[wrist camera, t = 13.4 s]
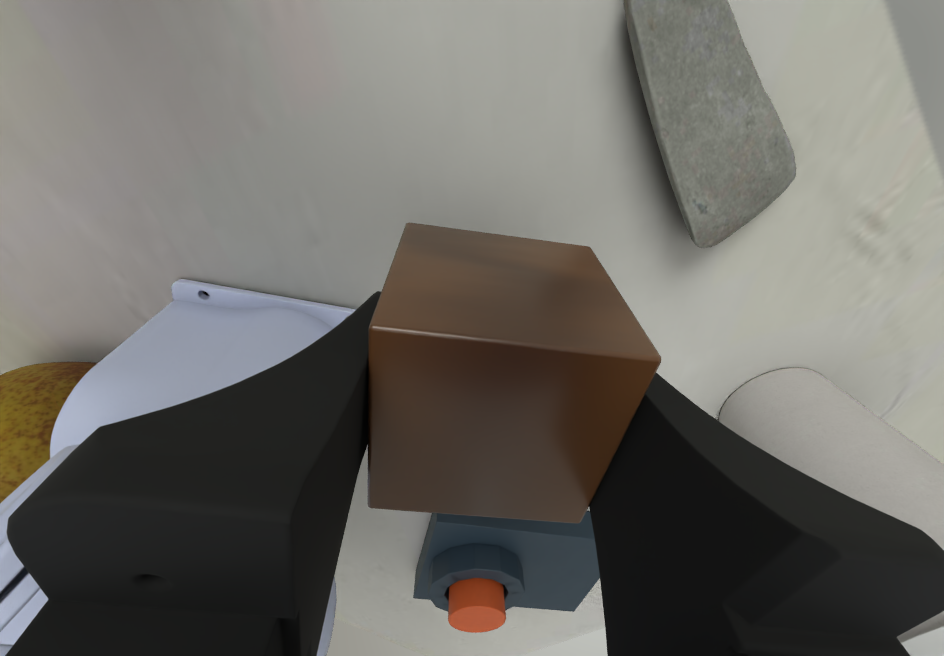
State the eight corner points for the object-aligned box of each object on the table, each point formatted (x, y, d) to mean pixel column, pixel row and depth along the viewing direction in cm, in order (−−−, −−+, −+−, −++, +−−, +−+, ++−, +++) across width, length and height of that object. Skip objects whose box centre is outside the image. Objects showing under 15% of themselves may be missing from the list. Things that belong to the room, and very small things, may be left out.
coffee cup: (703, 473, 29) (884, 785, 17) (683, 379, 24) (917, 719, 12) (851, 433, 27) (1185, 753, 15) (862, 322, 22) (1371, 657, 10)
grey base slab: (415, 570, 36) (411, 623, 32) (438, 493, 30) (434, 548, 27) (568, 584, 38) (578, 636, 34) (617, 514, 32) (635, 568, 28)
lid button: (444, 599, 31) (443, 630, 29) (454, 572, 29) (454, 604, 27) (495, 603, 32) (497, 634, 30) (509, 577, 30) (512, 609, 28)
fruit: (-11, 349, 22) (-398, 589, 12) (145, 323, 22) (-131, 555, 12) (96, 454, 27) (-121, 691, 17) (227, 436, 26) (81, 670, 16)
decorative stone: (685, -70, 14) (572, 33, 15) (712, -91, 13) (588, 21, 13) (783, 184, 18) (693, 258, 19) (810, 185, 17) (713, 263, 18)
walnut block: (397, 369, 13) (366, 509, 9) (406, 220, 11) (367, 326, 7) (546, 384, 14) (581, 525, 10) (591, 245, 11) (665, 359, 7)
